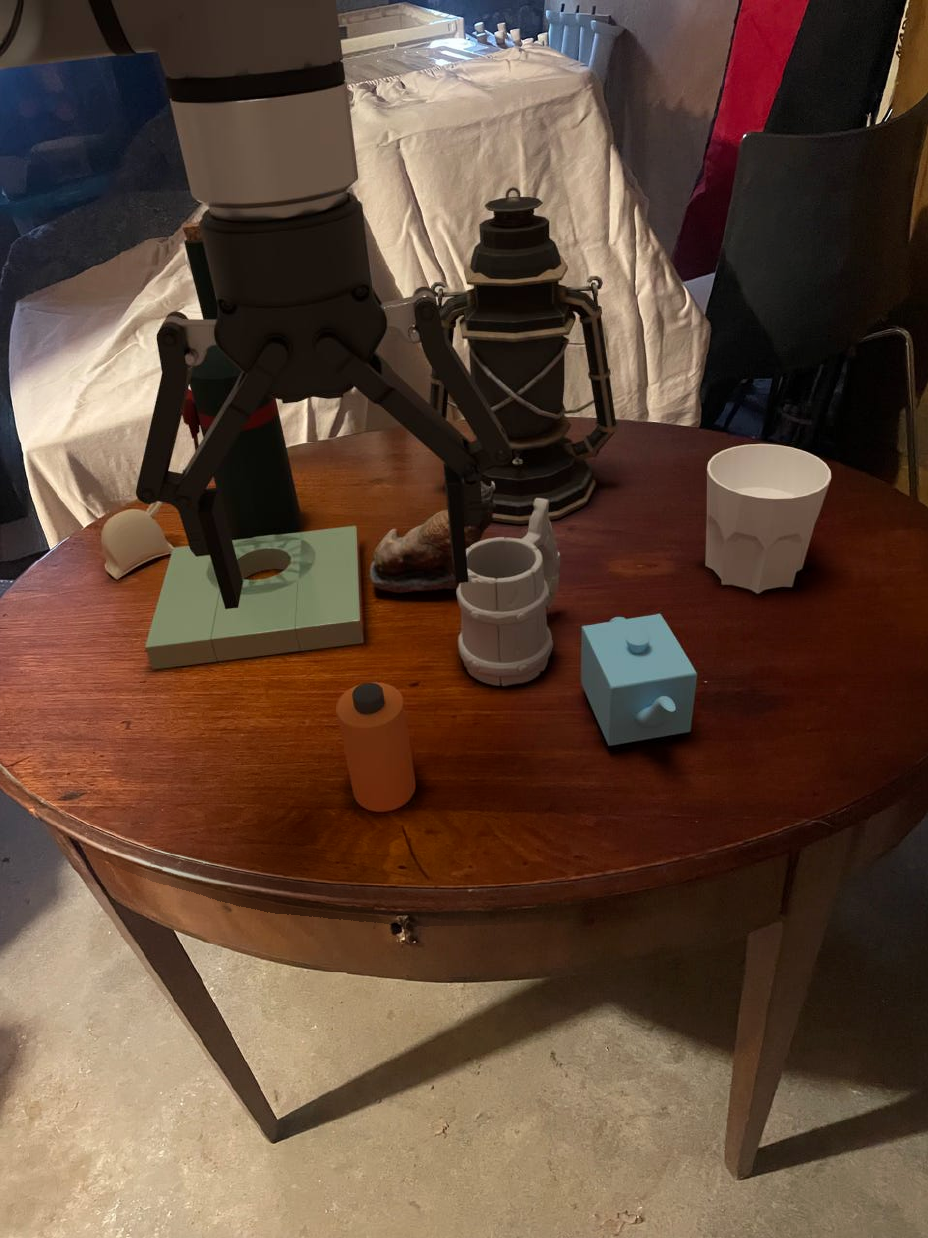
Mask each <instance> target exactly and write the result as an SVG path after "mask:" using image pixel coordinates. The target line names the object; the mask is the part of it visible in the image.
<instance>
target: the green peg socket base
mask: <svg viewBox="0 0 928 1238" xmlns="http://www.w3.org/2000/svg"><path fill="white" fill-rule="evenodd" d="M358 533H359V532H358V527H357V525H351V526H350V525H349V526H340V527H333V528H332V527H331V528H324V529H316V530H308V531H299V532H298V533H290V534H281V535H268V536H259V537H253V538H248V539H240V540H232V542H233V546H234V550H235V554H236V557H237V561H238V565H239V569H240V572H241V576H242V580H243V585H242V590H241V596H240V601H239V606H238V608H231V609H225V606H224V603H223V599H222V596H221V592H220V589H219V585H218V582H217V578H216V575H215V571H214V568H213V564H212V561H211V557H210V555H207V556H198V557H196V556H195V555H194V554H193V552H192V551H191V550H190V547H189V545H183V546H176V547H174V546H173V547H174V548H173V550H172V553H171V554H170V556H169V557H170V558H169V560H168V564H167V568H166V571H165V576H164V578H163V582H162V586H161V589H160V593H159V596H158V600H157V603H156V606H155V611H154V614H153V617H152V620H151V623H150V628H149V630H148V636H147V638H146V642H145V646H144V649H145V652H146V655H147V657H148V660H149V663H150V666H151V669H152V670H153V671H154V670H155V671H156V670H162V669H171V668H176V667H177V668H178V667H186V666H192V665H193V666H194V665H202V664H209V663H210V664H211V663H217V662H224V661H233V660H242V659H249V658H257V657H264V656H272V655H279V654H280V655H281V654H288V653H289V654H290V653H297V652H304V651H313V650H320V649H329V648H337V647H344V646H353V645H359V644H365V636H364V633H365V632H364V613H363V612H364V611H363V609H364V608H363V590H362V566H361V546H360V539H359V534H358ZM270 570H279V571H281V572H279V573H277V574H275V575H273V576H269V577H267V578H262V579H261V578H260V579H247V578H248V577H250V576H252V575H254V574H257V573H261V572H264V571H270Z"/></svg>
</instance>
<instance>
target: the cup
mask: <svg viewBox="0 0 928 1238" xmlns="http://www.w3.org/2000/svg"><path fill="white" fill-rule="evenodd" d="M831 479H832V471H831V469H830V468H829V466H828V465H827V463H826V462H825V461H823V460H822V459H821V458H820V457H818V456H816V455H814V454H812V453H810V452H808V451H805V450H802V449H798V448H795V447H791V446H786V445H780V444H769V443H755V444H743V445H737V446H732V447H729V448H727V449H723V450H721V451H719V452H718V453H716V454H714V455H713V456H712V457H711V458H710V460H709V461H708V463H707V467H706V525H705V526H706V527H705V529H706V530H705V563H704V565H705V567H707V568H709V569H710V570H713V572H715V574H716V575H717V576H718V577H719V578H720V580H721V581H720V582H721V585H722V586H725V585H726V586H735V587H739V588H743V589H747V590H750V591H752V592H754V593H755V594H757V595H759V594H760V593H762V592H764V591H766V590H771V589H776V588H783V587H784V588H793V586H794V582H795V578H796V574H797V572H799V571H801V570H803V567H804V564H805V560H806V558H807V557H806V556H807V553H808V549H809V547H810V542H811V539H812V535H813V532H814V528H815V524H816V522H817V520H818V518H819V515H820V512H821V510H822V507H823V503H824V501H825V498H826V495H827V492H828V489H829V486H830V483H831Z"/></svg>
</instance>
